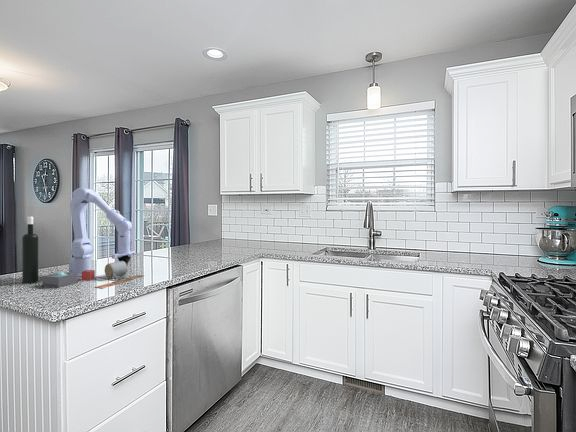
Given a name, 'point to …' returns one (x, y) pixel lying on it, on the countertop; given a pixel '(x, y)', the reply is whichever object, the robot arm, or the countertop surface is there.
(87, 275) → the die
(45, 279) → the dome housing
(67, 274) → the dome
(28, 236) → the wine bottle
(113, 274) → the ceramic mug
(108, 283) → the tile track
